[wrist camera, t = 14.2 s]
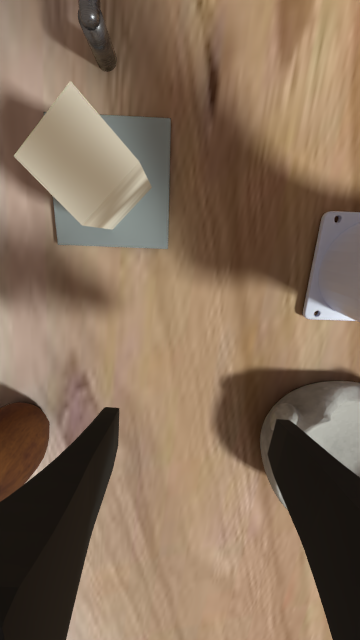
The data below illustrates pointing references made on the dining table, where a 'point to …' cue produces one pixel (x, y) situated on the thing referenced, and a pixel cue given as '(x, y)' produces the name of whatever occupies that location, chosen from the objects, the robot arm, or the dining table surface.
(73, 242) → the mat
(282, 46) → the dining table surface
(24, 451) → the wooden figurine
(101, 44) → the bent rod
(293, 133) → the dining table surface
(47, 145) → the ash block
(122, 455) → the dining table surface
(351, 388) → the dish
